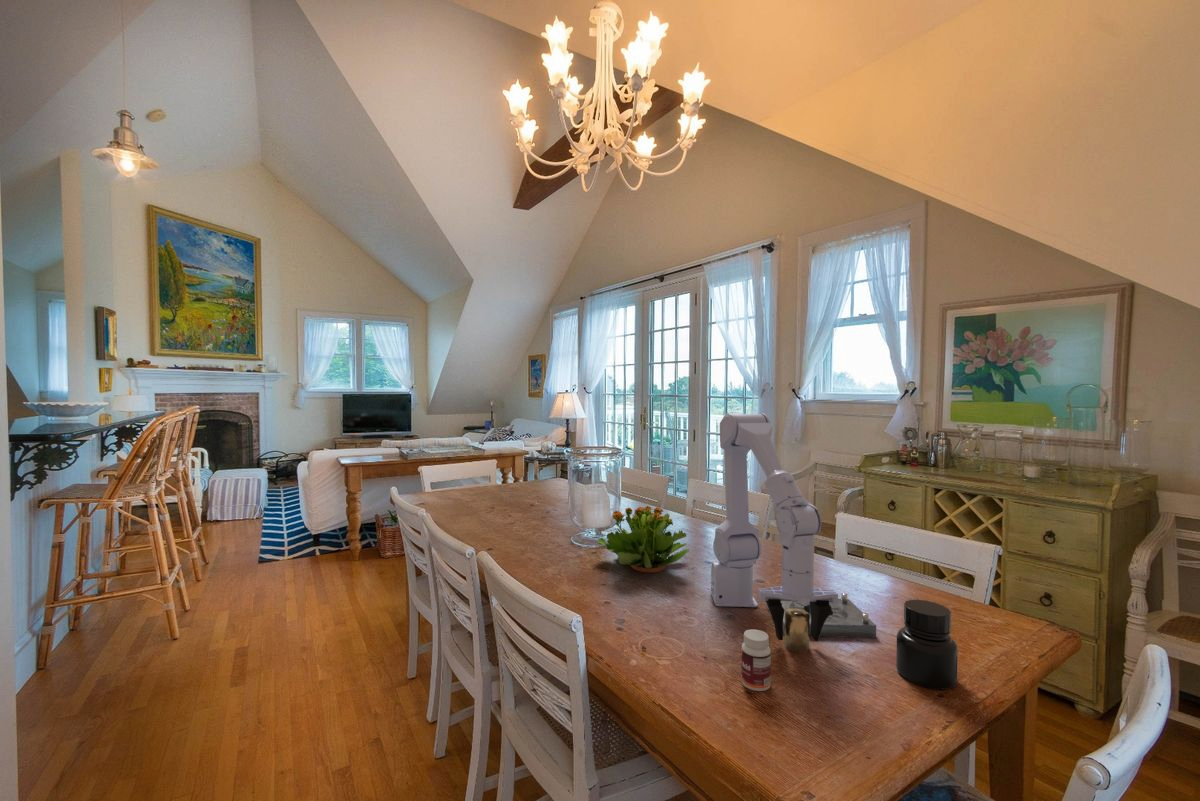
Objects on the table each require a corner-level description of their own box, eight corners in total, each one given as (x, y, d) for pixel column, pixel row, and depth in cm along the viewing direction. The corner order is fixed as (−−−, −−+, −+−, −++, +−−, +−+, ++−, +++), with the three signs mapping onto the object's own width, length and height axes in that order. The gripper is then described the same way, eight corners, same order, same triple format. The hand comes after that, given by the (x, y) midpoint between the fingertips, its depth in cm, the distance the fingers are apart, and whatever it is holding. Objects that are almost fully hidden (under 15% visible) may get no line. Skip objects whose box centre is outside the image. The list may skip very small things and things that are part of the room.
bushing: (788, 652, 97) (789, 617, 96) (781, 640, 101) (782, 607, 101) (812, 653, 96) (813, 618, 96) (804, 641, 101) (804, 608, 101)
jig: (784, 635, 103) (784, 615, 103) (766, 607, 116) (767, 589, 116) (876, 637, 102) (876, 617, 102) (848, 609, 115) (848, 591, 115)
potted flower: (670, 549, 157) (670, 493, 157) (713, 576, 135) (714, 510, 135) (594, 559, 149) (594, 499, 148) (626, 589, 126) (627, 519, 126)
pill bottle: (736, 676, 88) (737, 628, 88) (763, 675, 89) (764, 627, 89) (747, 692, 84) (747, 642, 83) (775, 691, 84) (775, 641, 84)
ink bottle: (972, 686, 86) (973, 615, 85) (934, 697, 83) (936, 623, 82) (918, 657, 95) (919, 593, 94) (882, 666, 92) (883, 600, 91)
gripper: (764, 575, 95) (764, 647, 95) (845, 576, 94) (844, 649, 94) (755, 562, 102) (754, 629, 102) (830, 563, 101) (829, 631, 101)
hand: (796, 638), depth 99 cm, fingers open, 6 cm apart
